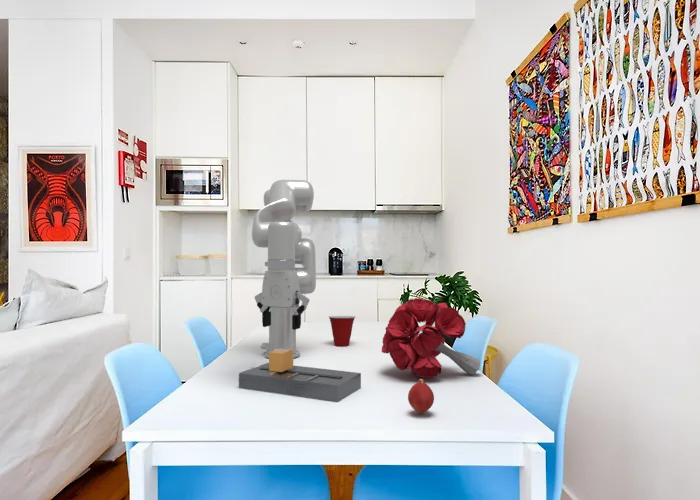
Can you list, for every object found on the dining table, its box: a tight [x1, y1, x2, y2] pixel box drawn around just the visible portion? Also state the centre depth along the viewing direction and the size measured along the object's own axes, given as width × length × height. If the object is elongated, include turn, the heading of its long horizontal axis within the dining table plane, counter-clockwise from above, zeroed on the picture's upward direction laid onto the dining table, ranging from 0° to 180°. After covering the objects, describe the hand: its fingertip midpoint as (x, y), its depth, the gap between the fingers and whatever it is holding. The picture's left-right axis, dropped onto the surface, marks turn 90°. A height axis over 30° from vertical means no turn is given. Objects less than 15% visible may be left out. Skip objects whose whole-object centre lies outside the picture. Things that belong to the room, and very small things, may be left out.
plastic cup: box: [328, 315, 356, 347], centre depth 193 cm, size 11×11×12 cm
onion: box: [407, 378, 435, 415], centre depth 108 cm, size 6×6×8 cm
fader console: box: [238, 362, 362, 403], centre depth 130 cm, size 30×14×4 cm, turn 65°
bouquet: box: [381, 297, 481, 379], centre depth 144 cm, size 22×24×30 cm
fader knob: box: [268, 348, 294, 372], centre depth 133 cm, size 4×6×5 cm
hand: (281, 327), depth 133 cm, fingers open, 9 cm apart
